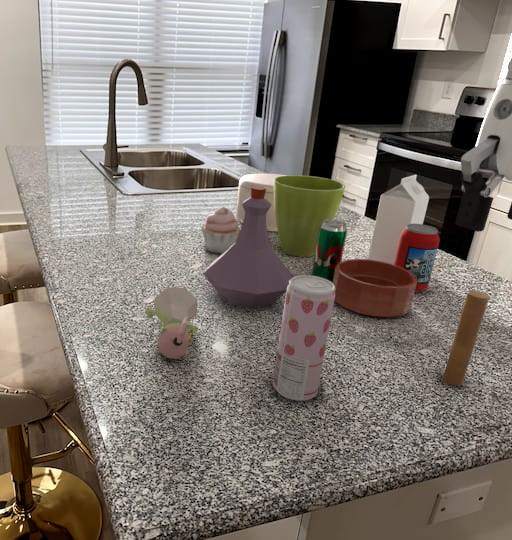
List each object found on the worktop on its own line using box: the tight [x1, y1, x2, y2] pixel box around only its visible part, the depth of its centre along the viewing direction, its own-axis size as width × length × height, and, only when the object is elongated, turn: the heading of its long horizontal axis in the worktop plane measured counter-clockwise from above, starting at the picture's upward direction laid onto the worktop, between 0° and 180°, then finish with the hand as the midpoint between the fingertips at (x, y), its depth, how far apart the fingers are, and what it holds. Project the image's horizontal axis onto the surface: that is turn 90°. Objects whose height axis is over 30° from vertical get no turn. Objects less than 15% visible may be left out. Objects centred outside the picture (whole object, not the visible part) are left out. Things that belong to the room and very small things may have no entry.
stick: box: [442, 290, 490, 387], centre depth 67 cm, size 2×2×13 cm
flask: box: [202, 186, 296, 309], centre depth 89 cm, size 16×16×20 cm
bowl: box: [333, 258, 417, 318], centre depth 91 cm, size 13×13×6 cm
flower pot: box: [274, 174, 346, 258], centre depth 114 cm, size 15×15×16 cm
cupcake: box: [200, 206, 241, 254], centre depth 114 cm, size 9×9×10 cm
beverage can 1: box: [272, 274, 335, 402], centre depth 64 cm, size 6×6×15 cm
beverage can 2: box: [393, 223, 441, 293], centre depth 98 cm, size 7×7×12 cm
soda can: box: [311, 219, 348, 283], centre depth 99 cm, size 5×5×12 cm
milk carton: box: [367, 174, 430, 264], centre depth 108 cm, size 7×7×19 cm
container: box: [235, 173, 288, 232], centre depth 135 cm, size 18×18×12 cm
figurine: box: [144, 287, 199, 360], centre depth 76 cm, size 9×7×15 cm
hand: (495, 224), depth 61 cm, fingers open, 9 cm apart
